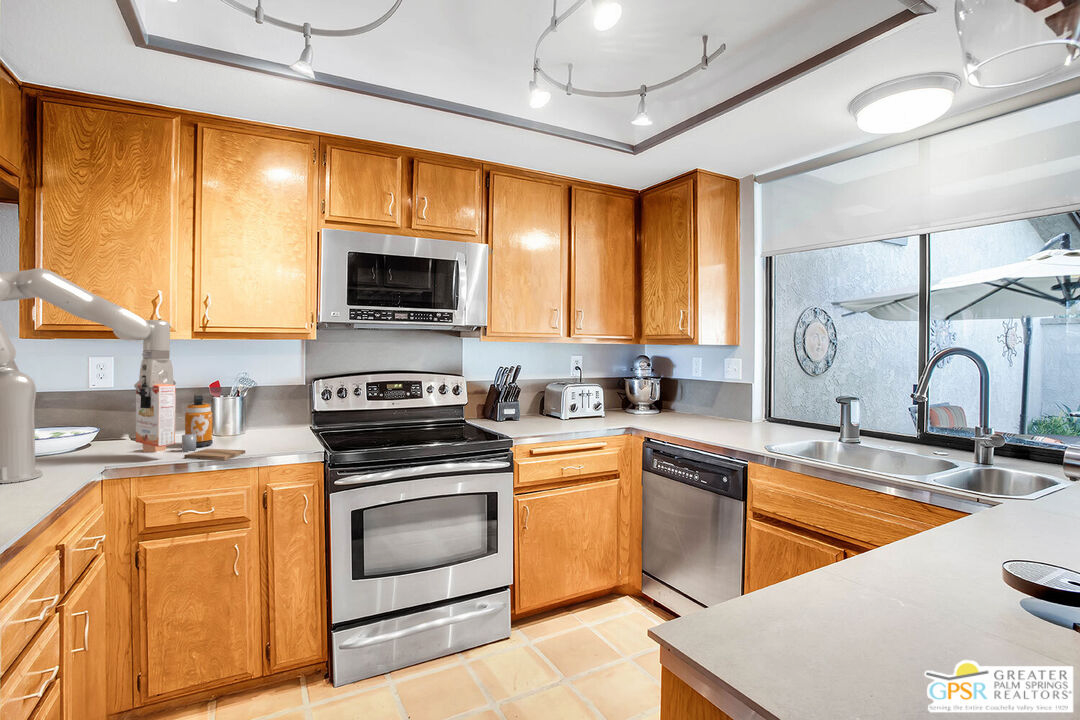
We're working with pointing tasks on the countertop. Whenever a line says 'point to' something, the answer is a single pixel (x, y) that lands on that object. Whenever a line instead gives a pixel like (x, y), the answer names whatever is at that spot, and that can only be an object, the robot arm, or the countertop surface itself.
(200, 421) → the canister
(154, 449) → the terracotta block
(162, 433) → the cracker box
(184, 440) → the slate cylinder
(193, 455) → the cutting board
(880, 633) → the countertop surface
